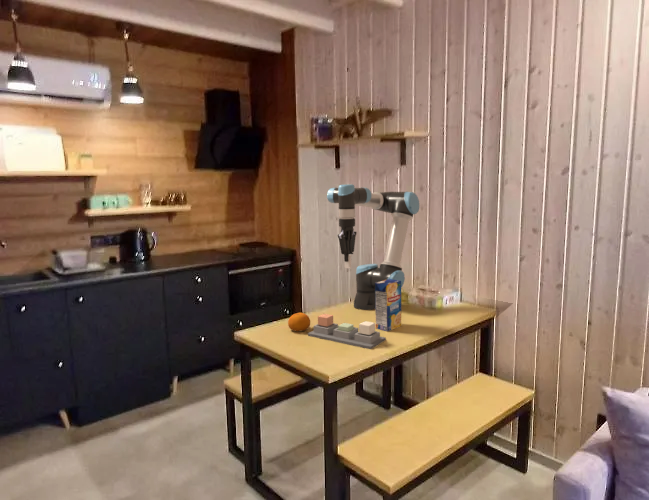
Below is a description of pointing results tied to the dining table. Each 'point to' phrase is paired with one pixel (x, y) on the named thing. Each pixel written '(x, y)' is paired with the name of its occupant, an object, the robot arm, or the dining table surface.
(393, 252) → the robot arm
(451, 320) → the dining table surface
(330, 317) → the button terracotta
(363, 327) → the button ivory
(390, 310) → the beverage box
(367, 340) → the button board
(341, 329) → the button sage
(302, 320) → the fruit
